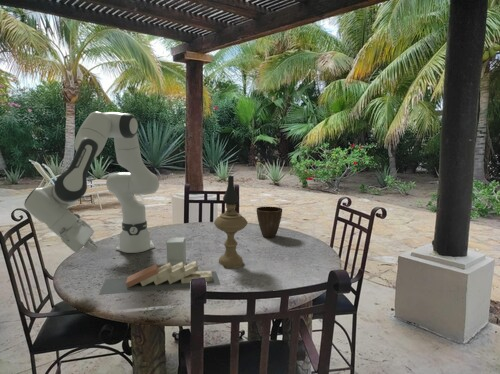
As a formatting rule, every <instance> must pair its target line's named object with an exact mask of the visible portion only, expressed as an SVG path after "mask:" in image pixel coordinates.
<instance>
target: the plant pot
mask: <svg viewBox="0 0 500 374" xmlns="http://www.w3.org/2000/svg"><path fill="white" fill-rule="evenodd" d="M255 209H256V217H257V221H258V226H259V229H260V230H259V231H260V232H261V236H262V237H264V238H269V239H271V238H275V237H276V236H277V233H278V231H279V228H280V224H281V221H282V215H283V208H282V207H277V206H260V207H256V208H255Z"/></svg>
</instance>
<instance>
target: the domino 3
mask: <svg viewBox="0 0 500 374" xmlns="http://www.w3.org/2000/svg"><path fill="white" fill-rule="evenodd" d="M183 272H185V268H184V264H183V262H181V263H179V264H176V265H174V266H172V273H169V274H167V275H165V276H163V277H161V278H159V279H157V280H155V281H154V283H155V285H158V284H160V283H162V282H164V281H166V280H168V279H170V278H173V277H175V276H177V275H179V274H181V273H183Z"/></svg>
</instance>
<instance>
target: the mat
mask: <svg viewBox="0 0 500 374" xmlns="http://www.w3.org/2000/svg"><path fill="white" fill-rule="evenodd" d="M211 273H212V281H207V286H206V287H209V286H221V282H220V279H219V277H218V274H217V271H216V270H215V271H214V270H213V271H211ZM127 278H128V277H120V278H105V280H104V282H103V284H102V287H101V289H100V291H99V293H98V295H111V294H112V295H113V294H123V293H135V292H136V293H137V292H145V291H147V292H148V291H160V290H161V291H162V290H172V289H173V290H174V289H186V288H191V287H190V283H181V279H180V280H178V281H176V282H173V283H171V284H170V283H169V281H168V280H166V281H164V282H162V283H160V284H158V285H155V283H154V281H153V282H151V283H149V284H147V285H145V286H142V285H141V283H140V282H139V283H137V284H135V285H133V286H131V287H129V288H128V286H127V284H126V281H127Z"/></svg>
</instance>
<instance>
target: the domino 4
mask: <svg viewBox="0 0 500 374" xmlns="http://www.w3.org/2000/svg"><path fill="white" fill-rule="evenodd" d="M184 268H185V272H183V273H181V274H179V275H177V276H175V277H173V278H170V279H168V281H169V283H170V284H171V283H173V282H176V281H178V280H180V279H182V278H184V277H186V276H188V275H190V274H192V273H194V272H199V266H198V263H197V261H196V260H193V261H191V262H190V263H188V264H187V263H186V265H185V266H184Z"/></svg>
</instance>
